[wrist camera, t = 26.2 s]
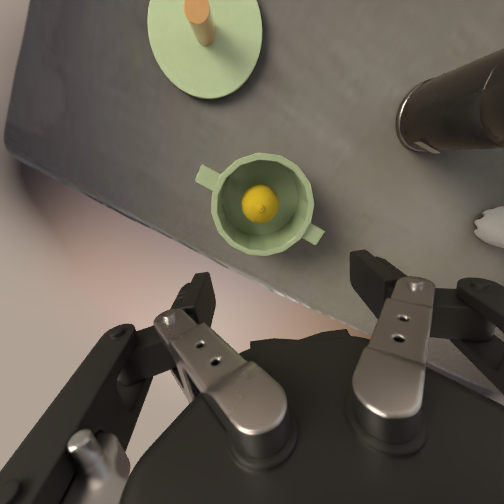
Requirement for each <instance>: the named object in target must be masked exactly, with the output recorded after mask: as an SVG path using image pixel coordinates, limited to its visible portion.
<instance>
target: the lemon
mask: <svg viewBox="0 0 504 504" xmlns="http://www.w3.org/2000/svg"><path fill="white" fill-rule="evenodd" d="M241 208H242V211H243V213H244V215H245V216H246V217H247V218H248V219H249V220H250V221H252V222H255V223H265V222H268V221H270V220H271V219H272V218H273V217H274V216H275V215H276V213H277V211H278V208H279V200H278V197H277V194H276V193H275V191H274V190H273V189H272V188H270V187H269V186H267V185H263V184H257V185H254V186H251V187H250V188H248V189H247V190H246V191H245V193H244V194H243V196H242V200H241Z"/></svg>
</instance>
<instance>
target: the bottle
mask: <svg viewBox="0 0 504 504" xmlns="http://www.w3.org/2000/svg"><path fill="white" fill-rule="evenodd" d="M482 215H483V218H481V219H479V220H476V221H475V225H476V226H477V229H476V230H475V231H474V233H475V235H476V236H477V237H478V238H480V239H481V240H483V241H484V242H486V243H488V244H491V245H494V246H497V247H501V248H504V206H501V207H496V208H494V209H489V210H486V211H484V212H483V213H482Z"/></svg>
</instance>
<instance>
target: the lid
mask: <svg viewBox="0 0 504 504" xmlns="http://www.w3.org/2000/svg"><path fill="white" fill-rule="evenodd" d="M148 34H149V39H150V44H151V47H152V51H153V53H154V56H155V58H156V61H157V62H158V64H159V66H160V68H161V69H162V71H163V72H164V74H165V75H166V76H167V77H168V79H169V80H170V81H171V82H172V83H173V84H174V85H176V86H177V87H178V88H179V89H181V90H182V91H184V92H185V93H187V94H189V95H191V96H194V97H197V98H202V99H218V98H222V97H225V96H227V95H230V94H231V93H233V92H235V91H236V90H238V89H239V88H240V87H241V86H242V85H243V84H244V83H245V82H246V81H247V80H248V78H249V77H250V75H251V74H252V72H253V70H254V68H255V66H256V63H257V61H258V58H259V54H260V50H261V43H262V20H261V14H260V10H259V6H258V3H257V0H150V4H149V10H148Z"/></svg>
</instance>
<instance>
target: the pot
mask: <svg viewBox="0 0 504 504" xmlns="http://www.w3.org/2000/svg"><path fill="white" fill-rule="evenodd" d="M195 182H197V183H199V184H201V185H203V186H205V187H206V188H208V189H210V190H212V191H213V192H212V206H211V214H212V217H213V219H214V222H215V225H216V228H217V230H218V232H219V233H220V235H221V236H222V237H223V238H224V239H225V240H226V241H227V242H228V243H229V245H230V246H232V247H234V248H236V249H238V250H240V251H242V252H244V253H246V254H249V255H260V256H269V255H272V254H276V253H279V252H283V251H285V250H287V249H288V248H289V247H291V246H292V245H293V244H295V243H296V242H297V241H299V240H300V239H301V238H302V239H304V240H306V241H308V242H310V243H312V244H314V245H316V244H317V243H318V241H319V240H320V238H321V237H322V235H323V234H324V232H325V231H324V230H323V229H321V228H319V227H317V226H316V225H314V224H312V223H311V219H312V214H313V209H314V198H313V194H312V189H311V184H310V182H309V180H308V179H307V178H306V176H305V175H304V173H303V172H302V171H301V169H300V168H299V166H298V165H296V164H294V163H292V162H291V161H289V160H287V159H286V158H284V157H282V156H281V155H276V154H266V153H255V154H252V155H249V156H246V157H243V158H240V159H237V160H236V161H235V162H234V163H233V164H231V165H230V166H229V167H228V168H227V169H226V170H225V171H224V172H222V173H219V172H217V171H215V170H213V169H212V168H210V167H208V166H206V165H204V164H202V165H201V168H200V170H199V172H198V174H197V177H196V179H195ZM257 184H263V185H267V186H269V187H270V188H272V189H273V190H274V191H275V193H276V194H277V197H278V200H279V208H278V211H277V213H276V215H275V216H274V217H273V218H272V219H271V220H270V221H268V222H265V223H255V222H252V221H250V220H249V219H248V218H247V217H246V216H245V215H244V213H243V211H242V208H241V200H242V196H243V194H244V193H245V191H246V190H247V189H248V188H250V187H251V186H254V185H257Z"/></svg>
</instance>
